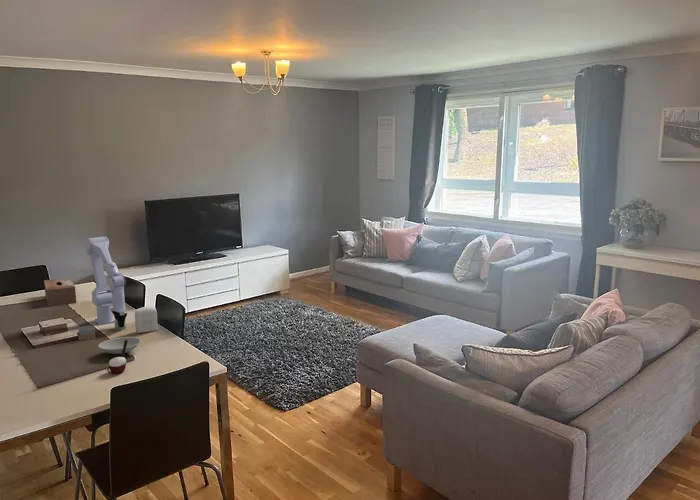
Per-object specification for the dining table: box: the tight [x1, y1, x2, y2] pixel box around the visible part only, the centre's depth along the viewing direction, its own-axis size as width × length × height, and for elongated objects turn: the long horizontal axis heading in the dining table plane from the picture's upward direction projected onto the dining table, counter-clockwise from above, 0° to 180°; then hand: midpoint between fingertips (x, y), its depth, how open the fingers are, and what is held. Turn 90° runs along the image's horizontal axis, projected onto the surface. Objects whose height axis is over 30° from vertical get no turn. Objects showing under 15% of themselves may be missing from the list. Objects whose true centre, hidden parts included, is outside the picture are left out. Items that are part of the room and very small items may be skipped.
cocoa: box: [106, 340, 128, 375], centre depth 214 cm, size 10×6×12 cm, turn 126°
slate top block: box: [78, 324, 95, 336], centre depth 254 cm, size 6×6×2 cm
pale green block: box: [113, 319, 127, 331], centre depth 266 cm, size 5×5×4 cm
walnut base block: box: [76, 331, 96, 341], centre depth 254 cm, size 7×7×2 cm
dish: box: [97, 336, 143, 355], centre depth 234 cm, size 18×14×5 cm
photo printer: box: [134, 306, 158, 334], centre depth 262 cm, size 10×4×12 cm, turn 123°
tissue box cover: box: [43, 277, 77, 308], centre depth 315 cm, size 26×14×10 cm, turn 32°
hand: (120, 325), depth 266 cm, fingers open, 5 cm apart
